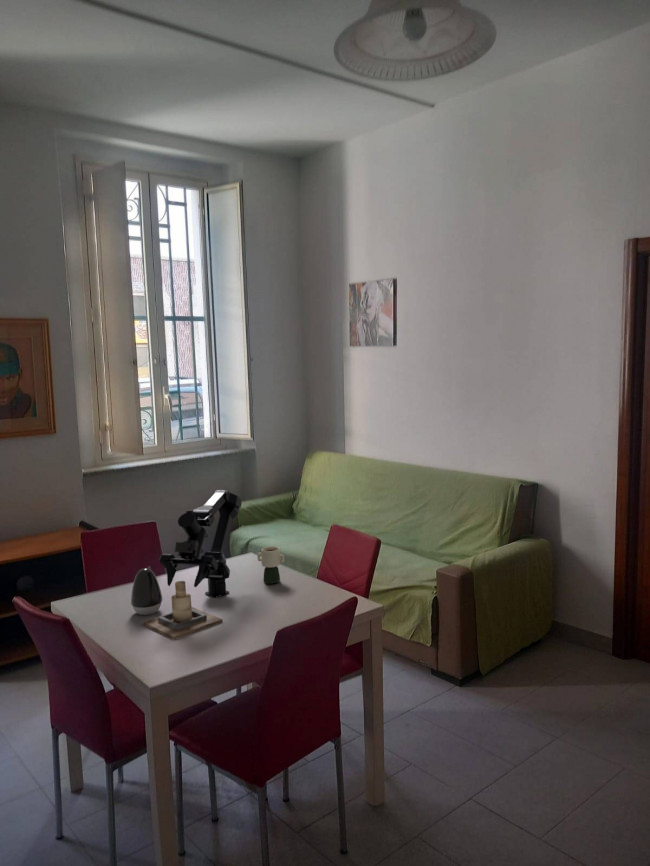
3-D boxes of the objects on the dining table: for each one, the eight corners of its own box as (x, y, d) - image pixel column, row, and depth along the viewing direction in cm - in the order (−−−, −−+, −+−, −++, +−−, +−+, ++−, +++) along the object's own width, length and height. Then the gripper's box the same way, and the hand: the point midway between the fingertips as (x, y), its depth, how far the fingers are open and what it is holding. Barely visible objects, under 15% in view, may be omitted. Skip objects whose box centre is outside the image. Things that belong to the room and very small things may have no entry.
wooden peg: (172, 618, 214) (169, 581, 213) (190, 615, 216) (188, 578, 215) (174, 625, 208) (171, 586, 207) (193, 622, 210) (191, 584, 209)
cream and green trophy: (288, 580, 251) (287, 547, 250) (281, 586, 245) (280, 552, 243) (262, 578, 255) (261, 545, 254) (254, 584, 248) (253, 550, 247)
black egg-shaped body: (166, 606, 228) (163, 563, 227) (158, 617, 218) (155, 572, 216) (137, 606, 229) (134, 564, 227) (127, 618, 218) (124, 573, 217)
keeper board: (143, 625, 212) (142, 617, 212) (190, 608, 225) (189, 601, 225) (174, 639, 200) (173, 631, 199) (222, 621, 212) (221, 614, 212)
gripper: (160, 530, 217) (145, 573, 208) (212, 531, 213) (199, 575, 203) (172, 546, 226) (159, 588, 216) (223, 548, 221) (211, 591, 212)
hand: (181, 586), depth 212 cm, fingers open, 9 cm apart
